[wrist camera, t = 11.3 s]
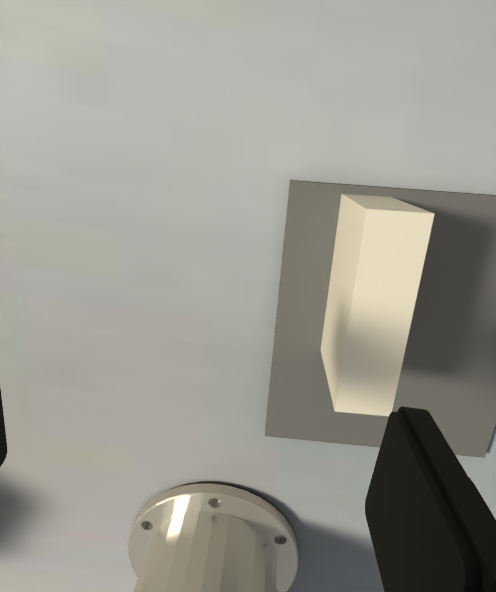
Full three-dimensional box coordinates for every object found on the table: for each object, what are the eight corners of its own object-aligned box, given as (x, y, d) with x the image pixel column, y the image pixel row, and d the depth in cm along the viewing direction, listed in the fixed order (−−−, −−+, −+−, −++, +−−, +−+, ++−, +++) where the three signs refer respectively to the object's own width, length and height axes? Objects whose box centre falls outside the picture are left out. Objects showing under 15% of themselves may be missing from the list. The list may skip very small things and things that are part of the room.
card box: (365, 353, 23) (394, 416, 18) (320, 349, 24) (334, 411, 18) (393, 197, 20) (438, 213, 15) (341, 193, 21) (366, 209, 15)
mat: (479, 451, 26) (484, 457, 25) (265, 429, 26) (265, 436, 26) (562, 200, 21) (570, 201, 20) (290, 180, 21) (290, 180, 20)
